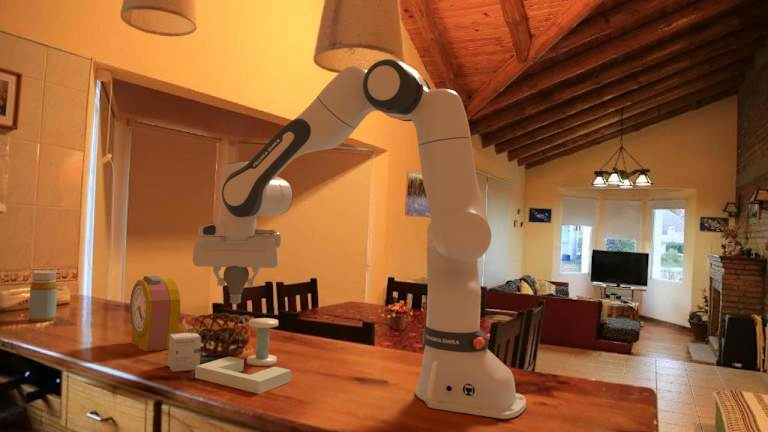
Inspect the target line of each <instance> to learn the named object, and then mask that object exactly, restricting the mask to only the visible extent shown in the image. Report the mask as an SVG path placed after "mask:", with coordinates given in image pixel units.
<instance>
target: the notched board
mask: <svg viewBox="0 0 768 432" xmlns="http://www.w3.org/2000/svg"><path fill="white" fill-rule="evenodd" d="M244 362H245V360H244V359H242V358H237V357H234V356H227V357H223V358H219V359H216V360H212V361H209V362H206V363H202V364H200V365H198V366H196V368H195V370H194V378H195V379H200V380H202V381H207V382H211V383H215V384H218V385H223V386H227V387H230V388H235V389H239V390H242V391H245V392H250V393H255V394H258V395H260V394H263V393H266V392H269V391H270V390H273V389H275V388H278V387H280V386H283V385H285V384H288V383H290V382H291V380H292V378H291V377H292V370H291V369H287V368H284V367H280V366H279V367H278V366H273V367H269V368H266V369H263V370H260V371H258V372H255V373H252V374H248V373H247V374H246V373H242V372H243V371H244V367H245V366H244Z"/></svg>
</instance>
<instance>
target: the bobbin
mask: <svg viewBox="0 0 768 432" xmlns="http://www.w3.org/2000/svg"><path fill="white" fill-rule="evenodd" d="M248 326H249V327H252V328H256V342H255V343H256V344H255V345H256V346H255V354H251V355H249V356H247V358H246V363H247V364H248V365H250V366H255V367H268V366H273V365H275V364H276V363H277V359H278V358H277V356H276V355H272V354H269V352H270V350H269V349H270V334H271V333H270V332H271V329H273V328H275V327H276V328H277V327H279V320H278V319H277V318H276V319H275V318H269V317H268V318H267V317H261V318H260V317H259V318H256V317H255V318H252V319H249V320H248Z"/></svg>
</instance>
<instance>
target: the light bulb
mask: <svg viewBox="0 0 768 432" xmlns="http://www.w3.org/2000/svg"><path fill="white" fill-rule="evenodd" d="M223 270H224V271H223V278H224V280H225V285H226V286H227V289H228V293H229V296H230V297H229V303H231V304H232V305H239V304H240V303H241V298H242V293H243V291H244V288H245V285H247V283H248V282H247V279H249V277H250V273H249V269H248V267H239V266H231V267H225V268H224V269H223Z"/></svg>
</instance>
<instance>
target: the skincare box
mask: <svg viewBox="0 0 768 432" xmlns="http://www.w3.org/2000/svg"><path fill="white" fill-rule="evenodd" d="M201 345H202V336H200V335H199V334H198V333H197V332H183V333H182V332H181V333H178V334H170V336H169V349H168V357H167V366H168V367H170V368H169V370H170V371H171V370H172V371H171V372H172V373H173V372H175V373H176V372H183V371H193V370H194V371H195V368H196V366H198V365H201V364H200V363H201V348H202V347H201Z"/></svg>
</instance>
